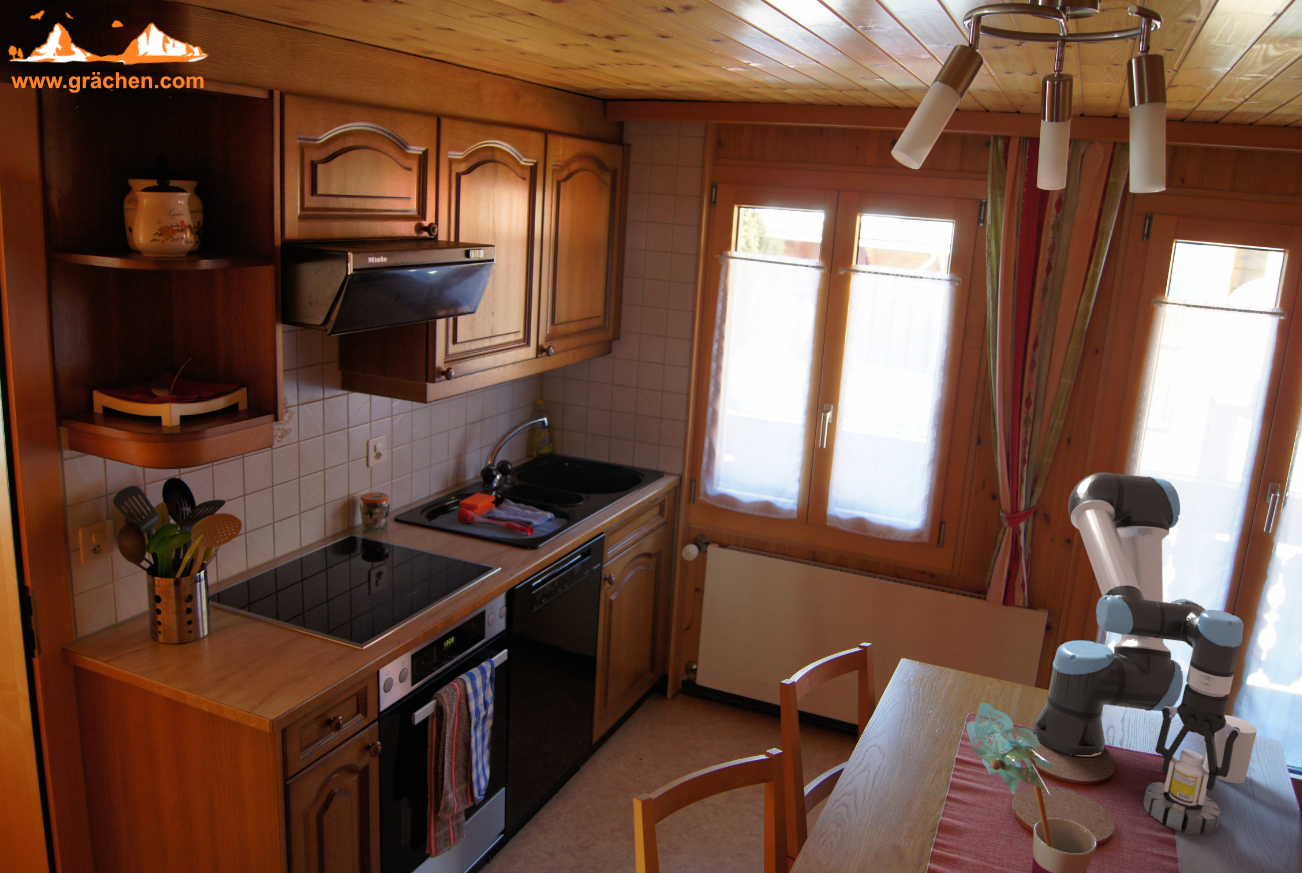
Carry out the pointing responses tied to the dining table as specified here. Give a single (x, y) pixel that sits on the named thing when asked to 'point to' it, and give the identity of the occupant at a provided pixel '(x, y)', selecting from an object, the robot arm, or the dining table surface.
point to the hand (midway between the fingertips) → (1184, 795)
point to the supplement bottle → (1187, 778)
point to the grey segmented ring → (1181, 811)
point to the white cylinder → (1235, 749)
